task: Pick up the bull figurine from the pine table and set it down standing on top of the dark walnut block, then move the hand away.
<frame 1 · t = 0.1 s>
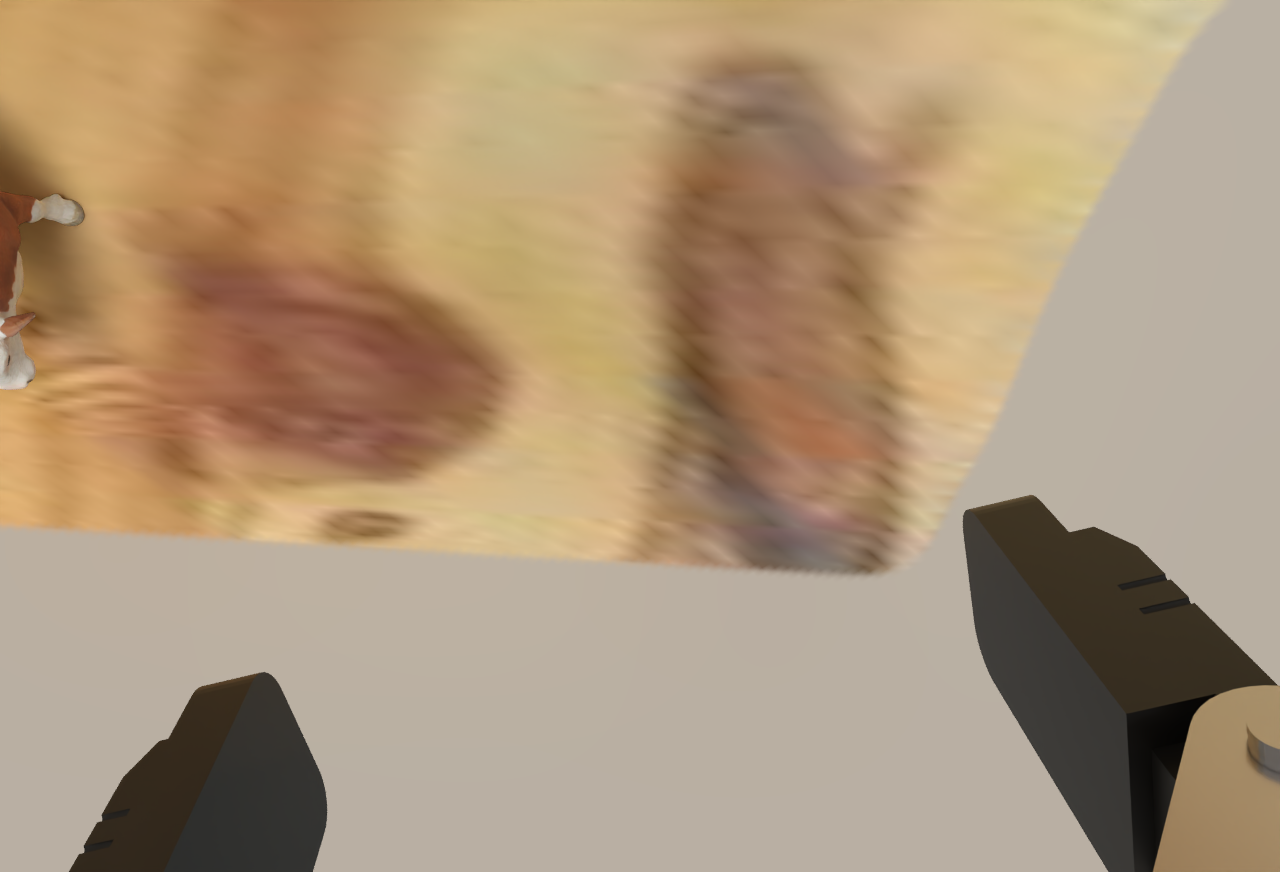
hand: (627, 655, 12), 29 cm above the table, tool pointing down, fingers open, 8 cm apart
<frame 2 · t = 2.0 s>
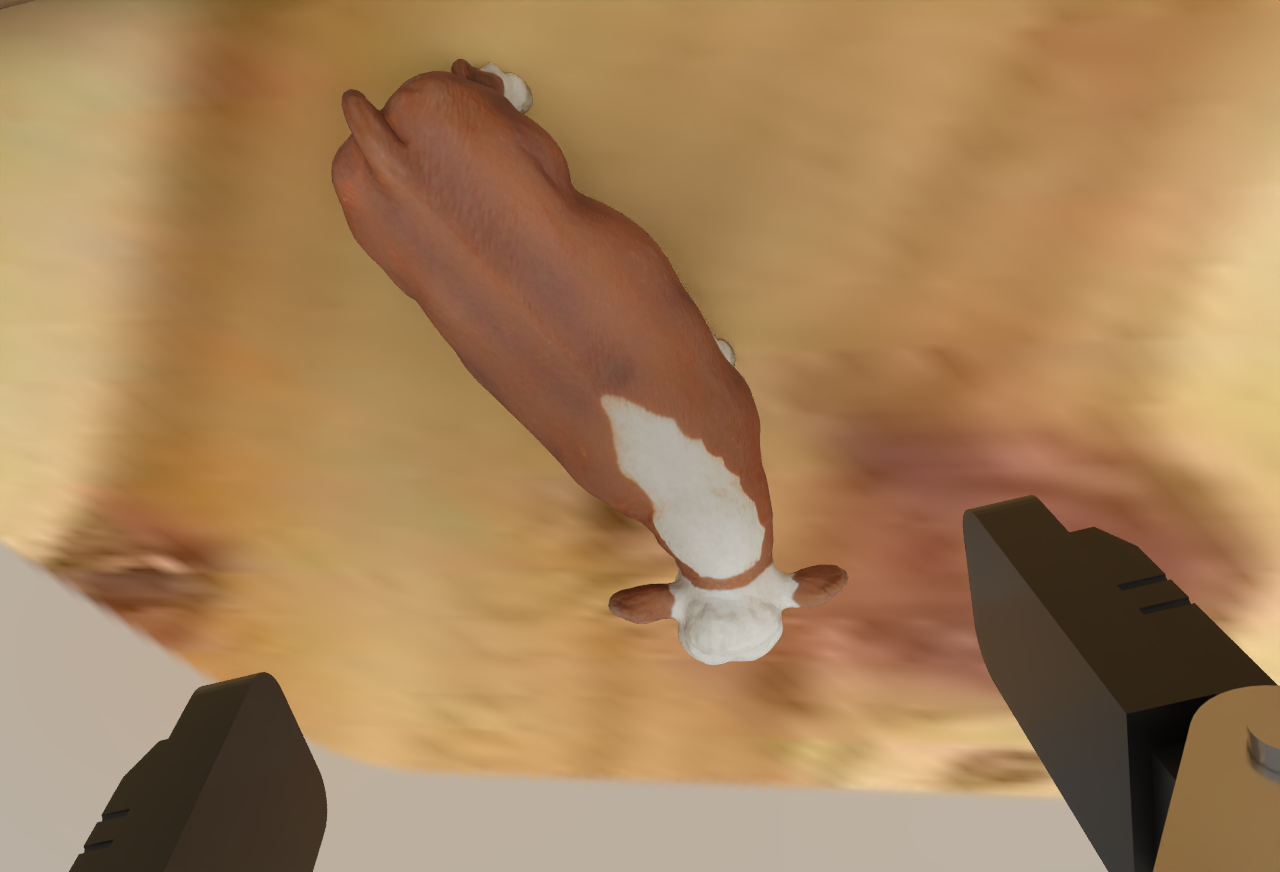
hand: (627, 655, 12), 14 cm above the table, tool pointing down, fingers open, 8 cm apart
bull figurine: (599, 297, 25), on the table
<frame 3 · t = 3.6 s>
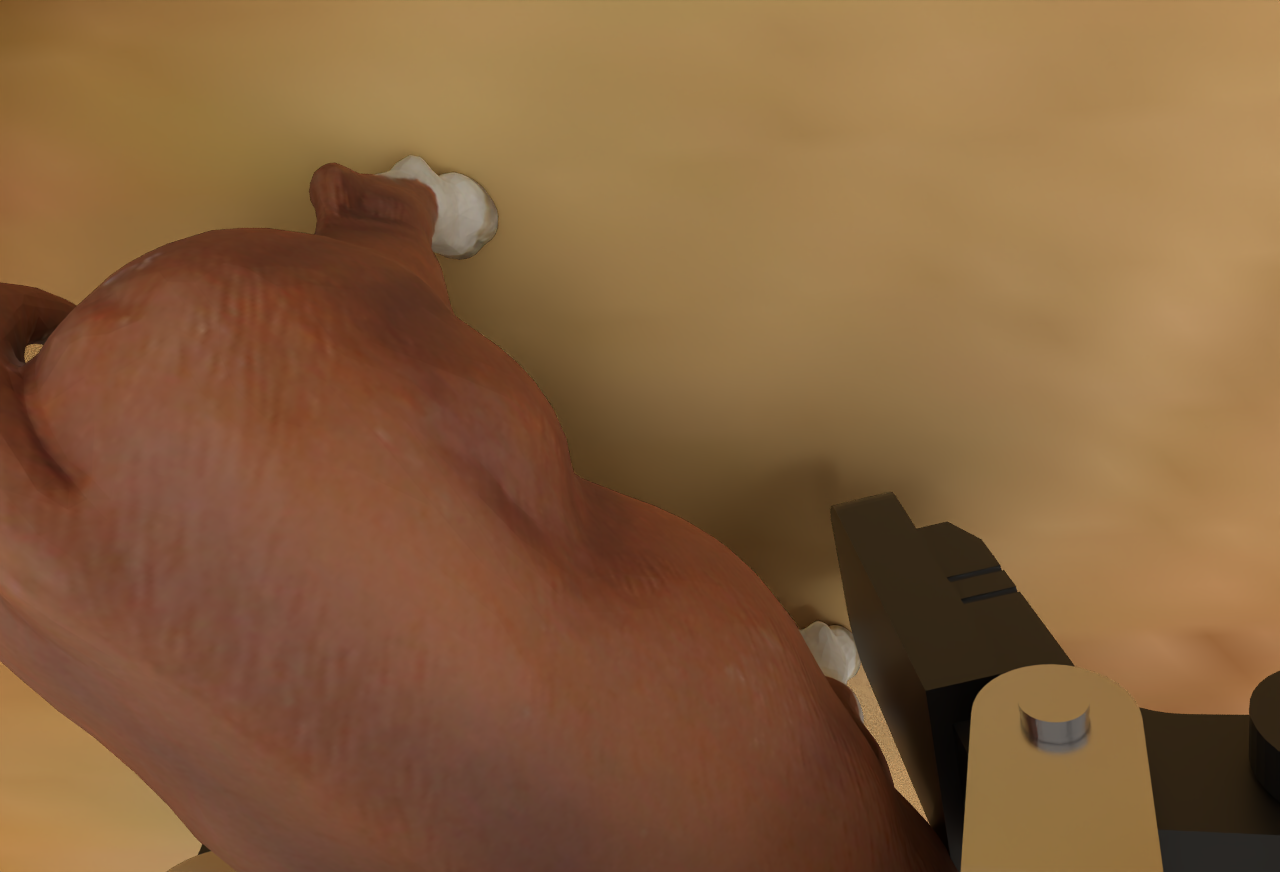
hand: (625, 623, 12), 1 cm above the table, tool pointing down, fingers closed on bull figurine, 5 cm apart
bull figurine: (623, 556, 14), on the table, touching gripper
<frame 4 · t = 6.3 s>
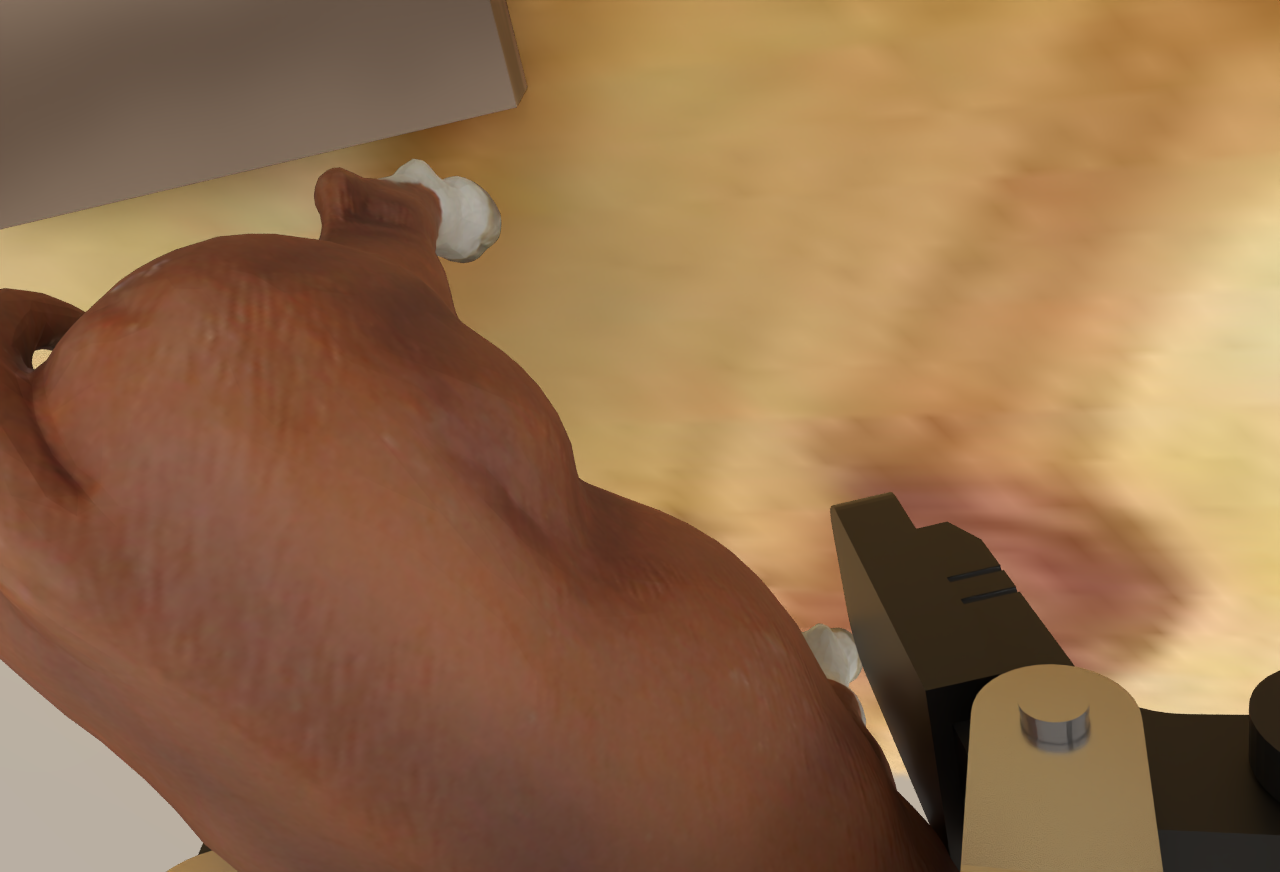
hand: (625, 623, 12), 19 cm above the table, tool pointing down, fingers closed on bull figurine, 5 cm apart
bull figurine: (625, 559, 14), point 17 cm above the table, touching gripper
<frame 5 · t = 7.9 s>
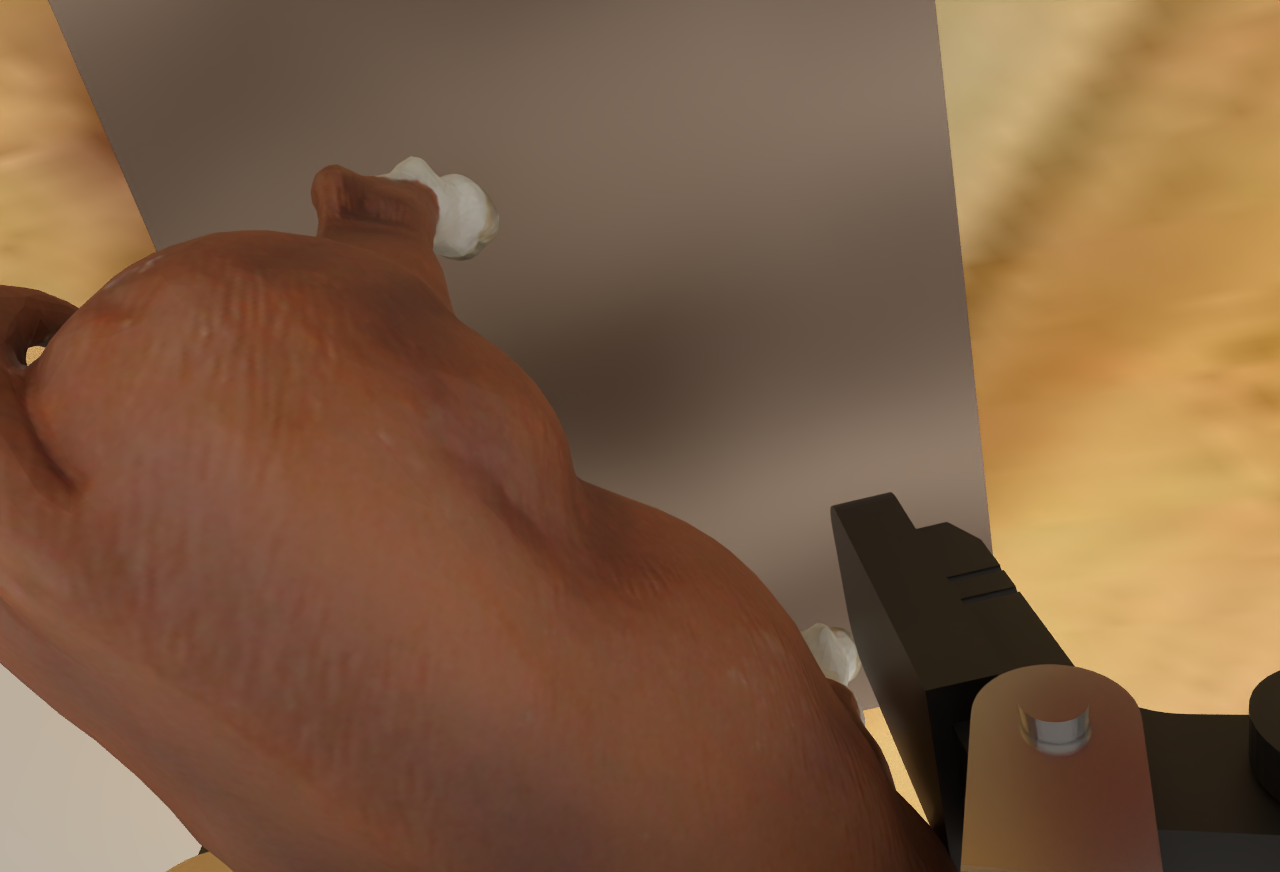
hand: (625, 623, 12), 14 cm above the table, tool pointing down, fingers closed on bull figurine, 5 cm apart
bull figurine: (624, 558, 14), point 12 cm above the table, touching gripper
walnut block: (597, 296, 25), on the table
when the fingers open (9 cm above the table, at t = 9.1 s): bull figurine drops 1 cm, resting on walnut block.
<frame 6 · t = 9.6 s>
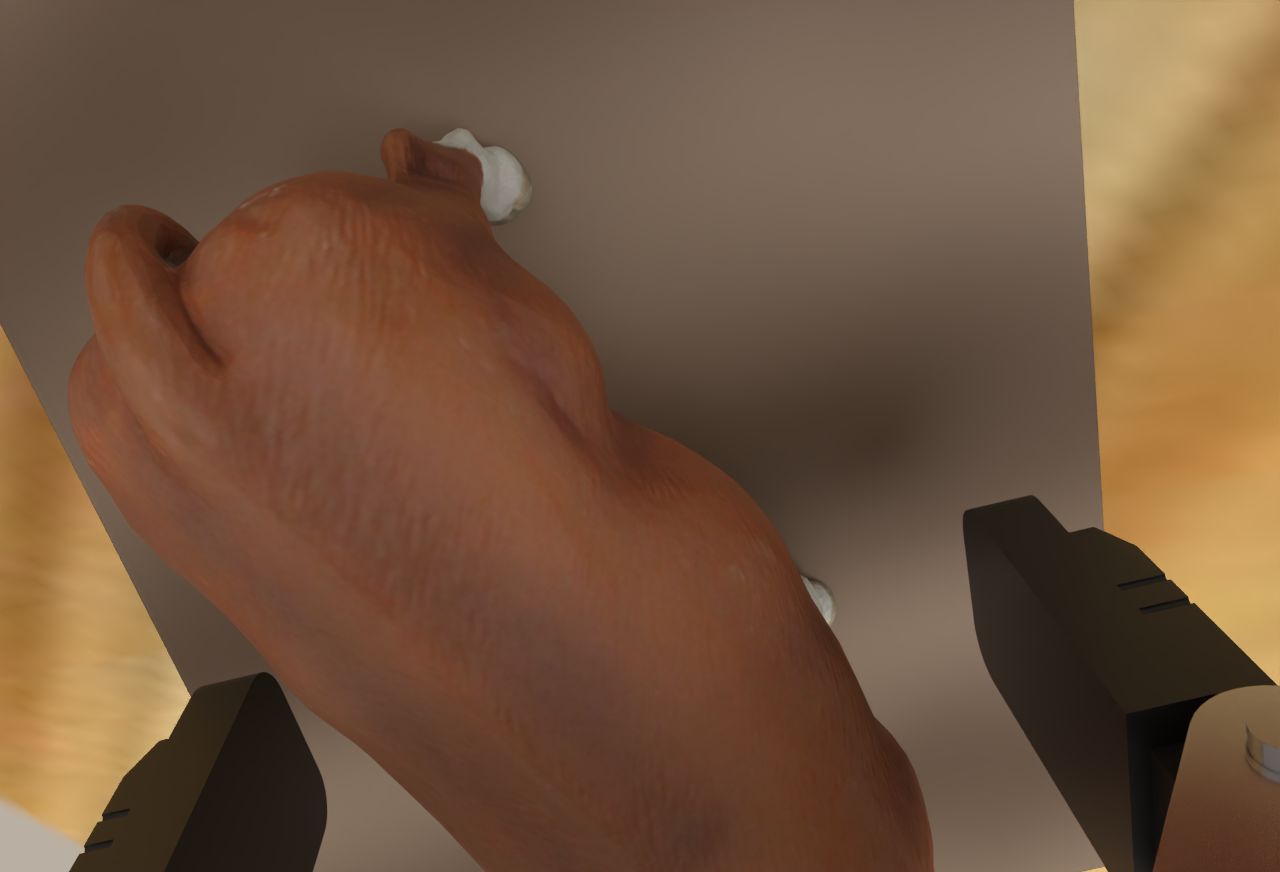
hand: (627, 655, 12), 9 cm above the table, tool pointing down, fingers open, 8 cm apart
bull figurine: (625, 508, 15), point 6 cm above the table, touching walnut block
walnut block: (605, 374, 20), on the table
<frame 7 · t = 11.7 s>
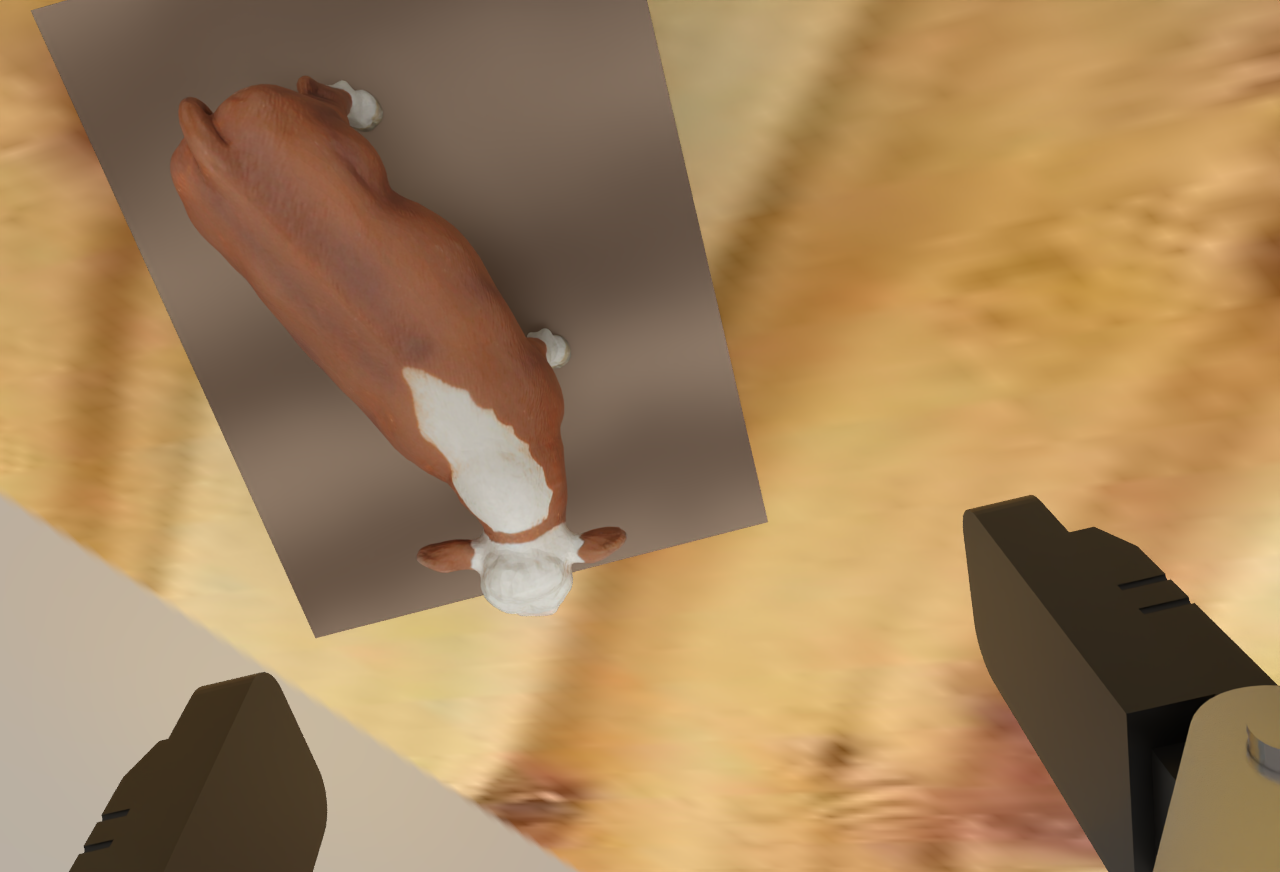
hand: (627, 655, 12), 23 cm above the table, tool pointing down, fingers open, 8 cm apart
bull figurine: (448, 293, 27), point 6 cm above the table, touching walnut block
walnut block: (464, 247, 33), on the table
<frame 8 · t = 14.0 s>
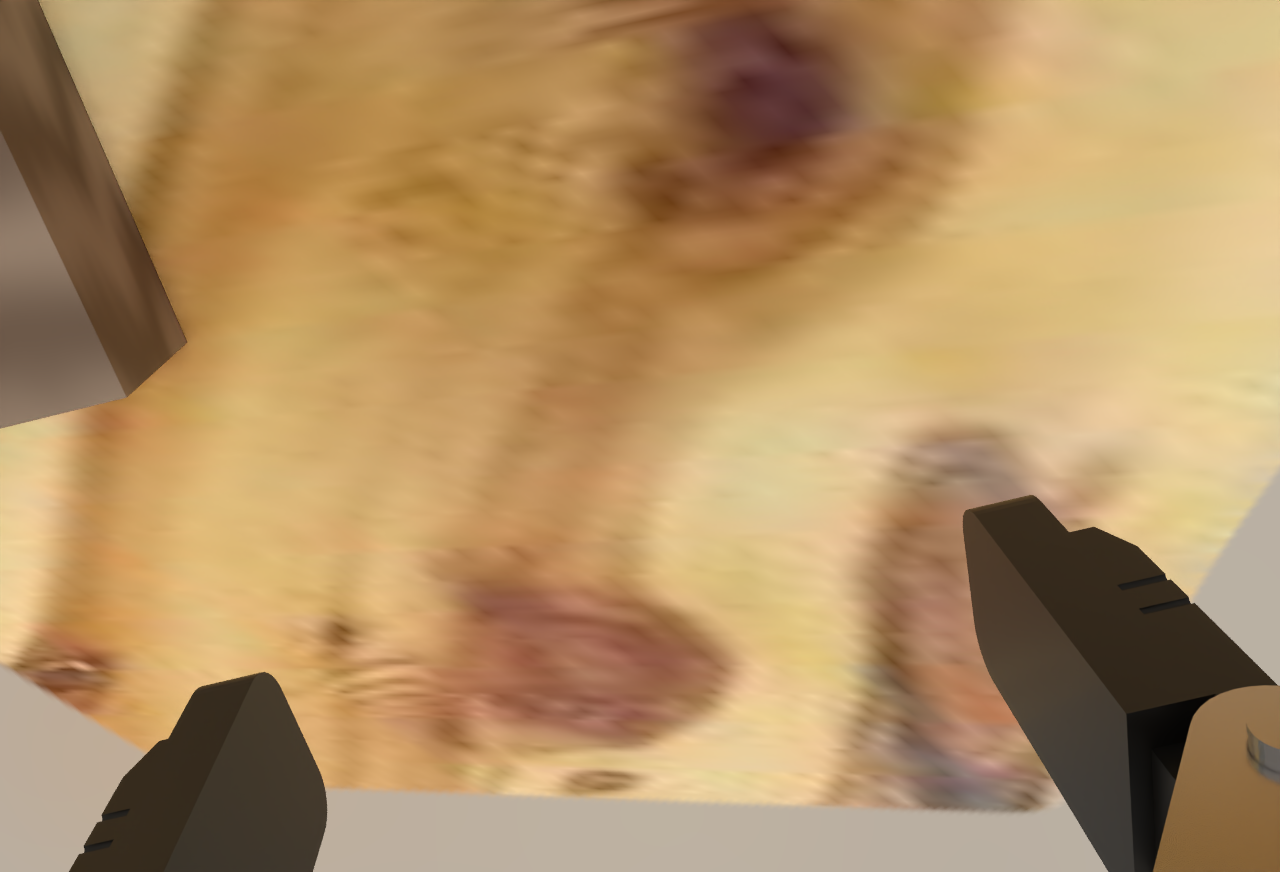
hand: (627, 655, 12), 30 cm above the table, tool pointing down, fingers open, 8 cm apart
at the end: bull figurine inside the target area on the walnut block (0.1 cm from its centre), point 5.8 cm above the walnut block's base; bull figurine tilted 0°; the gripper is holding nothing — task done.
